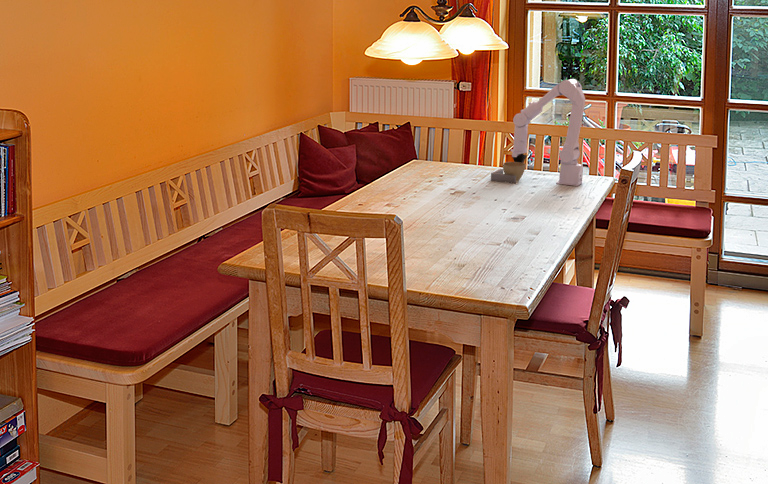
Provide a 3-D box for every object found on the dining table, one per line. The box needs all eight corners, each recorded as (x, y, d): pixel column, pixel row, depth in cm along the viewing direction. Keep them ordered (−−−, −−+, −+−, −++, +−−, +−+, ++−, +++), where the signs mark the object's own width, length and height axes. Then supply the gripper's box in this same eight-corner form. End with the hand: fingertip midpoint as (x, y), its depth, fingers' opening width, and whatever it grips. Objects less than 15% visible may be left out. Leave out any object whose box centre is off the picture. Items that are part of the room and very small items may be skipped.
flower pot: (497, 178, 364) (498, 162, 362) (516, 177, 369) (517, 161, 367) (510, 183, 356) (511, 166, 354) (529, 181, 360) (530, 165, 358)
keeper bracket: (523, 179, 365) (524, 171, 364) (514, 183, 354) (515, 175, 353) (500, 176, 370) (500, 168, 369) (490, 181, 359) (491, 173, 358)
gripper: (517, 137, 371) (515, 167, 375) (506, 141, 359) (504, 172, 363) (532, 139, 368) (530, 169, 372) (521, 143, 356) (519, 174, 359)
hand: (518, 171), depth 367 cm, fingers closed
